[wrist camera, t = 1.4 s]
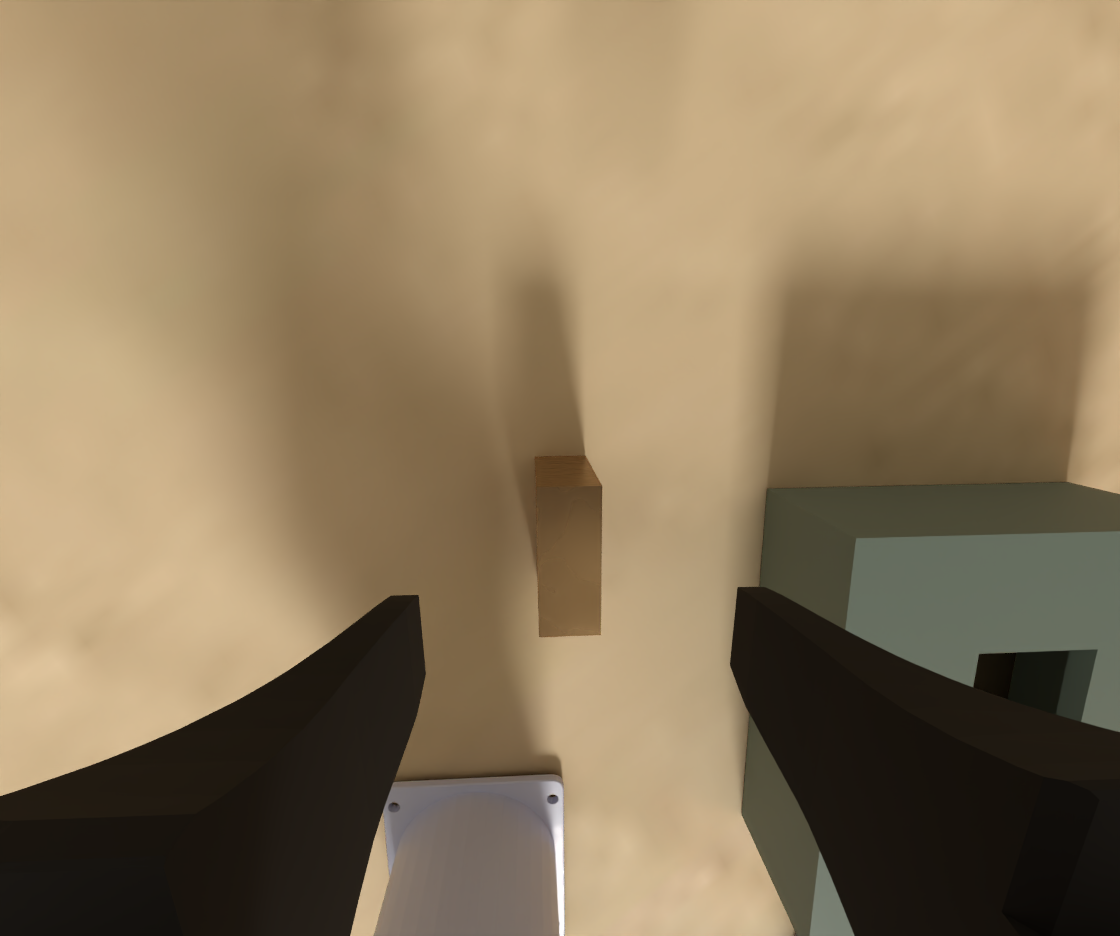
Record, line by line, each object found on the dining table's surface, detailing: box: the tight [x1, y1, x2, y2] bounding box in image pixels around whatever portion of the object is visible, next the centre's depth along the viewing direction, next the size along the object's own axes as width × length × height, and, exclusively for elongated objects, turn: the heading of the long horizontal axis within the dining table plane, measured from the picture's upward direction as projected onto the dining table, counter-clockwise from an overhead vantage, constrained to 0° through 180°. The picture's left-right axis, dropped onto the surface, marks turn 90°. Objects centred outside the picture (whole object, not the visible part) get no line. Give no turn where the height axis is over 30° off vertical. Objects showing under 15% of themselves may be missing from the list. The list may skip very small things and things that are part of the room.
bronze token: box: [535, 456, 602, 637], centre depth 19 cm, size 5×2×5 cm, turn 1°
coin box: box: [742, 482, 1120, 936], centre depth 20 cm, size 16×13×6 cm
